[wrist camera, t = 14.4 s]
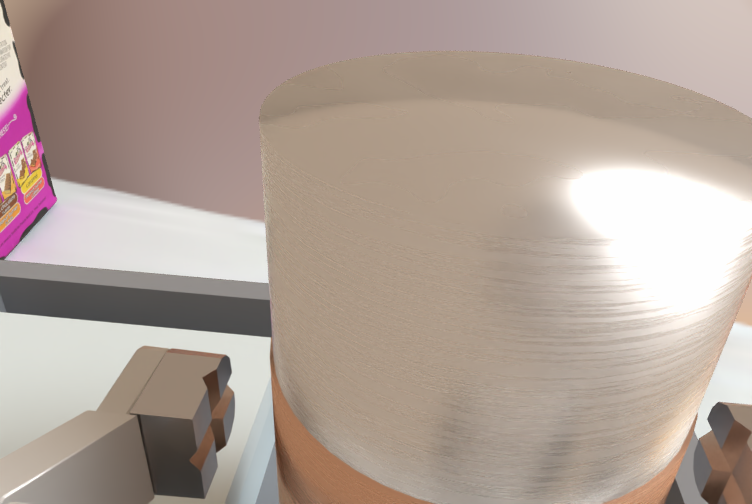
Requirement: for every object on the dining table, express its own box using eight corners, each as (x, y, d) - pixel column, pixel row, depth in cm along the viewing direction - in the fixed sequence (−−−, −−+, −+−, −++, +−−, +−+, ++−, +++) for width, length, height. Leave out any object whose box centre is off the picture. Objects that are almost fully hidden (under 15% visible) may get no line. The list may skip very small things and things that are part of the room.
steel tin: (539, 583, 17) (689, 63, 10) (578, 889, 12) (944, 270, 5) (317, 558, 18) (309, 40, 11) (262, 844, 13) (171, 208, 5)
